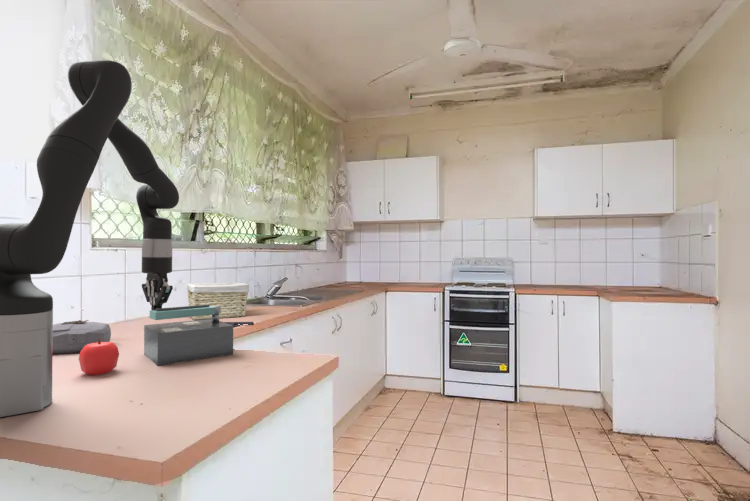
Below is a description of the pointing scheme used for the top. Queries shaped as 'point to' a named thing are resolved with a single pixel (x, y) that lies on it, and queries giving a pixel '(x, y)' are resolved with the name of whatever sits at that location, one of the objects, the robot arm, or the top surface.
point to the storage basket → (219, 298)
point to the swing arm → (184, 312)
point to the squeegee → (239, 323)
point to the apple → (98, 358)
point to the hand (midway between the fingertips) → (156, 318)
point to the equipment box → (188, 340)
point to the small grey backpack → (78, 335)
